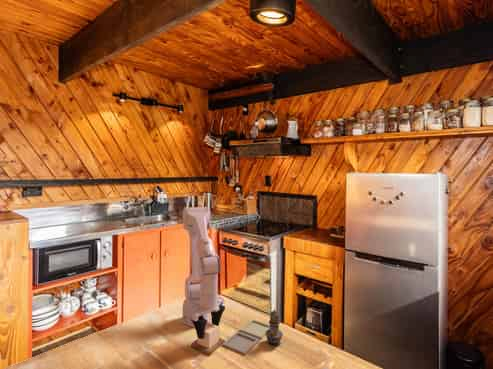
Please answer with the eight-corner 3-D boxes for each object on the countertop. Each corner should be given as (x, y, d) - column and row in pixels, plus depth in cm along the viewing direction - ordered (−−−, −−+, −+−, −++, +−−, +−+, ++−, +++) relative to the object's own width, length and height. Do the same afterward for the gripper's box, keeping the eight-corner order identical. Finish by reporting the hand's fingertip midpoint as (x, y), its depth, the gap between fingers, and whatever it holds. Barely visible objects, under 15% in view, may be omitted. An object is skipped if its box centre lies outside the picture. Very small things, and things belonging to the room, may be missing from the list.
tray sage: (239, 331, 107) (239, 329, 107) (252, 321, 114) (252, 318, 114) (261, 339, 102) (261, 337, 102) (273, 328, 109) (273, 325, 109)
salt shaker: (281, 350, 96) (282, 314, 96) (264, 347, 98) (264, 312, 97) (283, 339, 102) (283, 306, 102) (266, 337, 103) (266, 304, 103)
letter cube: (197, 343, 97) (197, 328, 97) (207, 336, 102) (207, 321, 101) (209, 348, 95) (209, 333, 94) (218, 341, 99) (219, 326, 99)
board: (190, 346, 97) (190, 344, 97) (206, 335, 104) (206, 332, 104) (209, 355, 93) (209, 352, 93) (224, 343, 100) (224, 340, 100)
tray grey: (222, 346, 98) (222, 343, 98) (237, 333, 105) (237, 331, 105) (245, 356, 93) (245, 353, 93) (259, 342, 101) (259, 339, 101)
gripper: (203, 304, 89) (203, 347, 90) (231, 287, 101) (230, 326, 102) (186, 298, 93) (186, 339, 94) (215, 283, 105) (214, 320, 106)
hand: (208, 332), depth 98 cm, fingers open, 7 cm apart
